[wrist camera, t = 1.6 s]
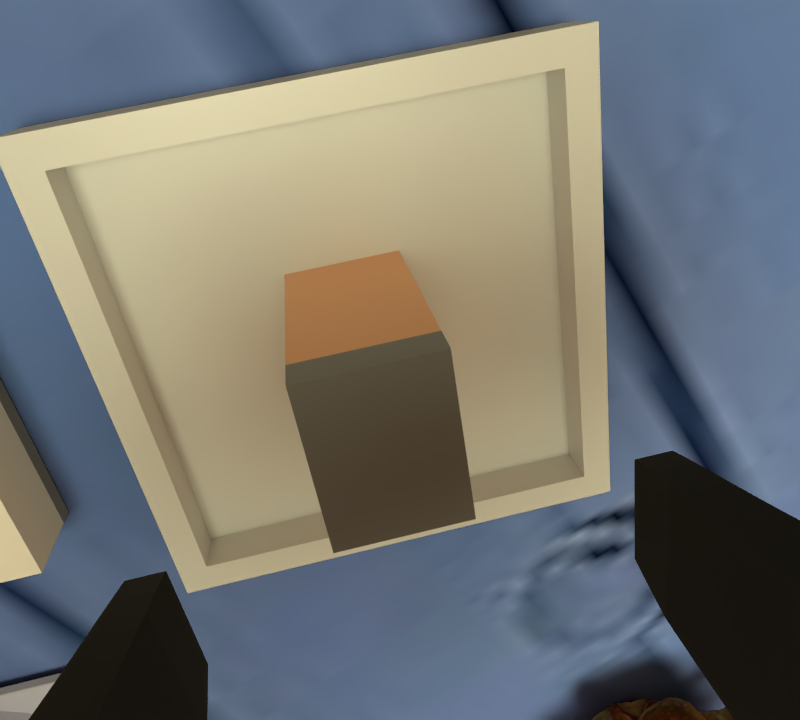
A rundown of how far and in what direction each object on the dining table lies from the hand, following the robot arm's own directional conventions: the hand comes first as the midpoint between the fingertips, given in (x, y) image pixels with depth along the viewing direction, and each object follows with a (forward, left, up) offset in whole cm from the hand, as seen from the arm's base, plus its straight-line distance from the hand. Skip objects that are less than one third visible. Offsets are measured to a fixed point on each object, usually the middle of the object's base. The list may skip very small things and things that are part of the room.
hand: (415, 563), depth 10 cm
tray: (0, 0, -10) cm, 10 cm away
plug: (0, 0, -9) cm, 9 cm away
